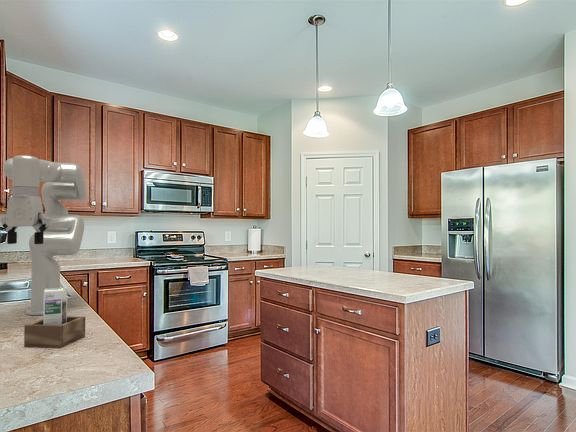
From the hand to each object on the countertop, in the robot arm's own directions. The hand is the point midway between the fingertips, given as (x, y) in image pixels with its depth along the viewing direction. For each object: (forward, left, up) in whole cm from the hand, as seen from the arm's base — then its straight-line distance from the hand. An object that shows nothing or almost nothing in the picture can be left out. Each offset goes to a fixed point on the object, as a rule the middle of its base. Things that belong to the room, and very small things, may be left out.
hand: (25, 243), depth 124 cm
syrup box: (+12, +20, -27) cm, 36 cm away
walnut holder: (+12, +21, -28) cm, 37 cm away
